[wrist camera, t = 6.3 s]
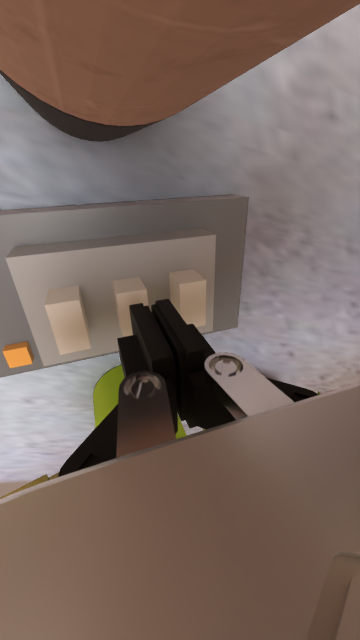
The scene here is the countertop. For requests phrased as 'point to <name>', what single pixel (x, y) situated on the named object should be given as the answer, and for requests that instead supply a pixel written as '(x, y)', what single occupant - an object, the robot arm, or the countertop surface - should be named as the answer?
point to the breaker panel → (120, 222)
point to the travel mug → (141, 54)
